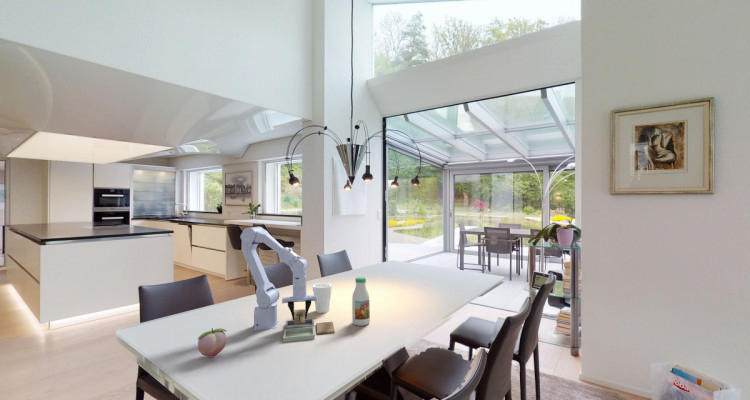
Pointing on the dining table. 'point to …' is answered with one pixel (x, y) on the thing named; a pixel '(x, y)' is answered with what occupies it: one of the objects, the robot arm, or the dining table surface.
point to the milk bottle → (360, 303)
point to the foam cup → (322, 296)
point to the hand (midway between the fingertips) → (299, 318)
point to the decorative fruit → (212, 342)
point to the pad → (325, 328)
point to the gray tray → (291, 324)
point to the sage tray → (298, 334)
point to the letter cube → (299, 316)
